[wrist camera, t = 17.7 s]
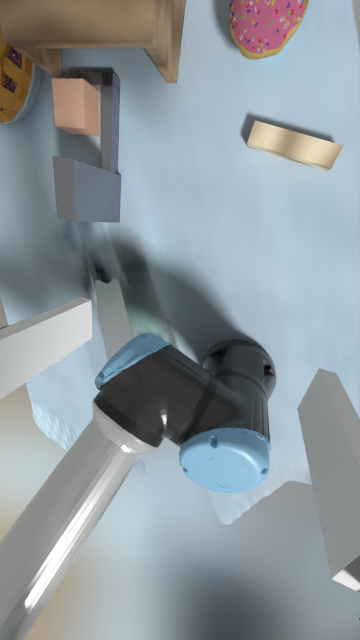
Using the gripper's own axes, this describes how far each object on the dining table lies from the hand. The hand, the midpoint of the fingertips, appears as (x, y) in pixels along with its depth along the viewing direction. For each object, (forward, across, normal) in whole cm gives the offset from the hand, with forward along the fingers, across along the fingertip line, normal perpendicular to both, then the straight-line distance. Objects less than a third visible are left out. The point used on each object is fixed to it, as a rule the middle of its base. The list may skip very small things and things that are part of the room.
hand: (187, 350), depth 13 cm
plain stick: (+32, -3, -18) cm, 37 cm away
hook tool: (+32, +29, -14) cm, 45 cm away
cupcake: (+32, +4, -29) cm, 43 cm away
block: (+32, +32, -20) cm, 50 cm away
